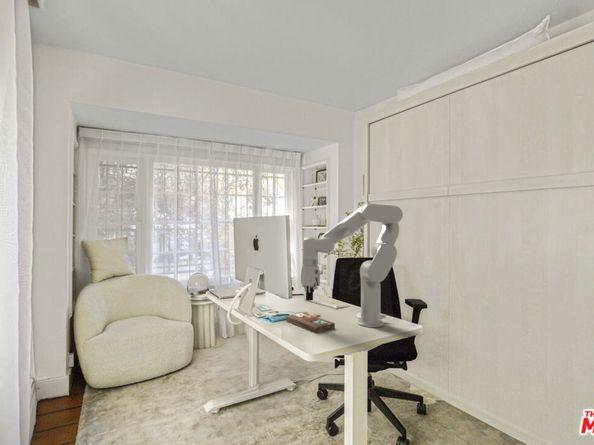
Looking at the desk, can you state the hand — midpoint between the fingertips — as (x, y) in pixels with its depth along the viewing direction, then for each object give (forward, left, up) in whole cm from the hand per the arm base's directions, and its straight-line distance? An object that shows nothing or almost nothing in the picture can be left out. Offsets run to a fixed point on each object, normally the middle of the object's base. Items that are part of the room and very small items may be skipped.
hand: (309, 300), depth 162 cm
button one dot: (0, -7, -12) cm, 14 cm away
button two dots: (0, 0, -11) cm, 11 cm away
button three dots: (0, +8, -12) cm, 14 cm away
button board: (0, 0, -12) cm, 12 cm away
